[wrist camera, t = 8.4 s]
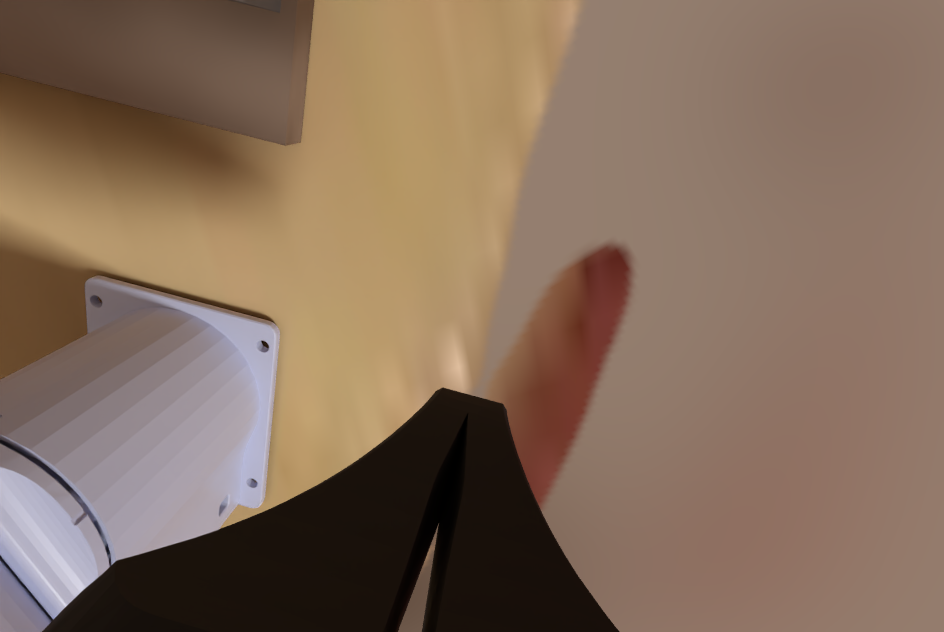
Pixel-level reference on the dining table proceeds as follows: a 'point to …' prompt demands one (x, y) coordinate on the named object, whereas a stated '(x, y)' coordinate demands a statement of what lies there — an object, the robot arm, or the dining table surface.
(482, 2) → the dining table surface
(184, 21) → the grey slider rail
